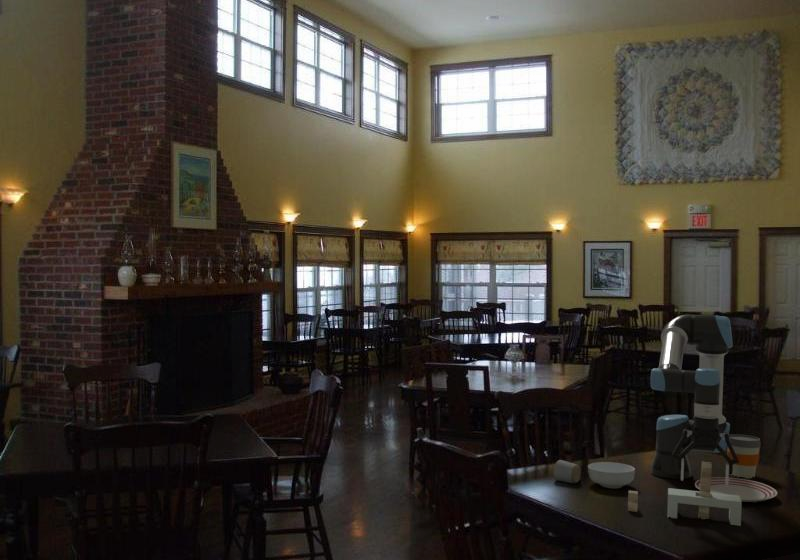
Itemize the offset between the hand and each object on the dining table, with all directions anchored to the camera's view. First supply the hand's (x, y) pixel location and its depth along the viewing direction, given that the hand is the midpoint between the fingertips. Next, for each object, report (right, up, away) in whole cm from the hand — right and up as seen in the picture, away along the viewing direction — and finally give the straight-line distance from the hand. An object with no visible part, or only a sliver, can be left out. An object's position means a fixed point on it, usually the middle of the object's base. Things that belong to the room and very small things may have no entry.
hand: (704, 481), depth 263 cm
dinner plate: (+22, -12, +29) cm, 38 cm away
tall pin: (0, -12, 0) cm, 12 cm away
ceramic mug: (-35, -11, +43) cm, 56 cm away
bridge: (0, -12, 0) cm, 12 cm away
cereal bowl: (-21, -11, +37) cm, 44 cm away
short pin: (-21, -11, +7) cm, 25 cm away
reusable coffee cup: (+37, -12, +58) cm, 70 cm away
